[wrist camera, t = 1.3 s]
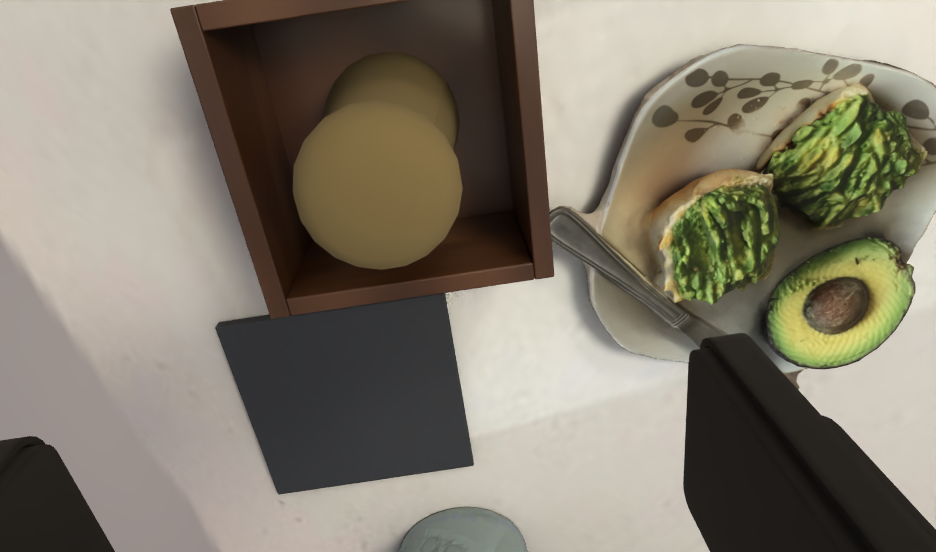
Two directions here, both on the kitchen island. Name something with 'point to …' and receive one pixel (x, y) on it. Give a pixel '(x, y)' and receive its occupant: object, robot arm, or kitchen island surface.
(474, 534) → the green cylindrical cup
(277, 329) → the mat
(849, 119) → the avocado toast plate
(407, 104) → the cork
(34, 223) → the kitchen island surface
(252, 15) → the bin
